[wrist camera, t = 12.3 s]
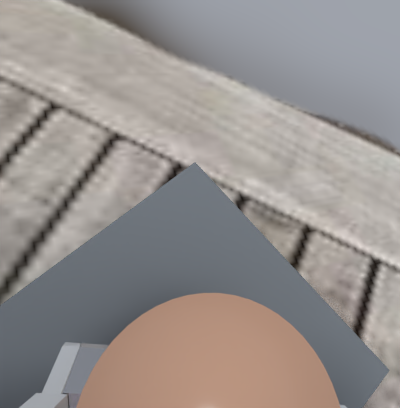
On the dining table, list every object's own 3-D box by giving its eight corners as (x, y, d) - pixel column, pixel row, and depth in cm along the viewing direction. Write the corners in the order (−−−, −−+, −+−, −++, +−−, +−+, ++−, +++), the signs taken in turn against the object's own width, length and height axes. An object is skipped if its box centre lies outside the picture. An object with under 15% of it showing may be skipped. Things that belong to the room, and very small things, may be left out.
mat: (-49, 345, 15) (-57, 347, 15) (194, 166, 20) (194, 162, 20) (156, 675, 12) (156, 692, 12) (381, 368, 17) (389, 370, 17)
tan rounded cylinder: (105, 359, 14) (6, 432, 5) (186, 287, 16) (220, 244, 7) (174, 452, 14) (202, 745, 4) (252, 366, 15) (398, 443, 6)
